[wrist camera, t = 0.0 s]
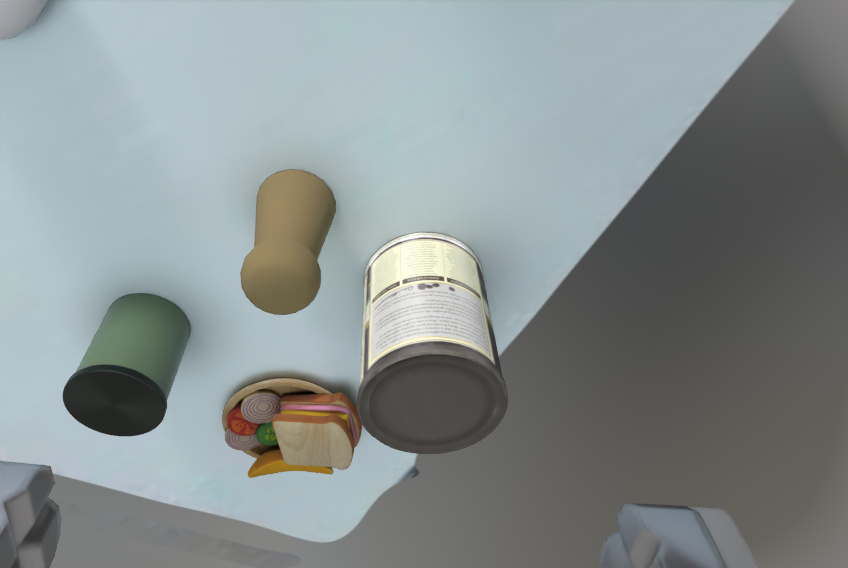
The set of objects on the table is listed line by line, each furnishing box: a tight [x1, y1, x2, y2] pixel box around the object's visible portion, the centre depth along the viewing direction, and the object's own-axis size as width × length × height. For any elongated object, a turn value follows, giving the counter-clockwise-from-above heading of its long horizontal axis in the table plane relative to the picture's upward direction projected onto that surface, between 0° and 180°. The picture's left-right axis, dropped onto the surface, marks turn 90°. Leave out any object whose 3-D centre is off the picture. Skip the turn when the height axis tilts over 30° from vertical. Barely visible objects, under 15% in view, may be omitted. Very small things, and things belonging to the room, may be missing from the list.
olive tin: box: [63, 294, 190, 436], centre depth 54 cm, size 7×7×9 cm
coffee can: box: [357, 233, 508, 454], centre depth 50 cm, size 10×10×14 cm
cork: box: [240, 170, 336, 315], centre depth 47 cm, size 6×6×11 cm
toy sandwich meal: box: [222, 378, 362, 478], centre depth 64 cm, size 12×14×5 cm
